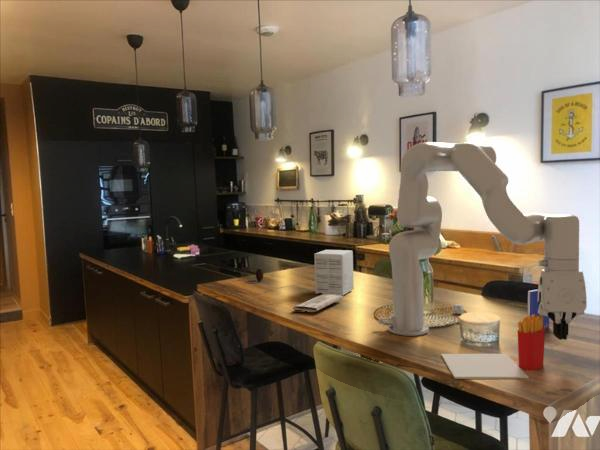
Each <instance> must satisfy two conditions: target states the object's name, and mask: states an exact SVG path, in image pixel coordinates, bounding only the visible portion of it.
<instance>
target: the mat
mask: <svg viewBox="0 0 600 450" xmlns="http://www.w3.org/2000/svg"><path fill="white" fill-rule="evenodd" d="M440 357H442V359H443V361H444V363H445V364H446V367H447V368H448V370H449V371H450V373H451V375H452V376H453V378H454V380H456V379H457V380H461V379H462V380H463V379H465V380H467V379H469V380H470V379H471V380H473V379H474V380H477V379H478V380H479V379H480V380H485V379H486V380H487V379H489V380H490V379H491V380H495V379H498V380H499V379H503V380H505V379H506V380H507V379H513V380H514V379H515V380H517V379H516V378H530V377H529V376H528V375H527V373H525V371H524V370H523V369H521V368H520V367H519V364H517V363H516V362H515V361H514V360H513V359H512V358H511V357H510V356H509V355H508V354H507V353H440Z"/></svg>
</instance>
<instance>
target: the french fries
mask: <svg viewBox="0 0 600 450" xmlns="http://www.w3.org/2000/svg"><path fill="white" fill-rule="evenodd" d="M517 326H518V327H517V328H518V329H517V347H518V348H517V352H518V366H519V367H520V368H521V370H523V371H528V372H529V371H530V372H531V370H532V371H533V370H534V371H537V370H539V369H540V367H541V368H543V367H544V357H545V341H546V340H545V337H546V329H545V327H543V317H542V315H540V316H538V315H537V316H535V314H533V315H531V316H528V315H527V316H525V317H524V318H523V319H522V320H519V321H518V322H517ZM542 366H543V367H542ZM538 368H539V369H538ZM536 369H537V370H536Z"/></svg>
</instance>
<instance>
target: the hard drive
mask: <svg viewBox="0 0 600 450" xmlns="http://www.w3.org/2000/svg"><path fill="white" fill-rule="evenodd" d="M538 308H539V306H538V289H532V290H528V291H527V317H528V316H531V315H533V314H535V316H537V315H538V316H540V314H539V313H538ZM542 317H543V327H545V330H546V329H550V318H549V317H548V316H543V315H542Z"/></svg>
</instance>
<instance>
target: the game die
mask: <svg viewBox="0 0 600 450" xmlns="http://www.w3.org/2000/svg"><path fill="white" fill-rule="evenodd" d="M452 312H453V313H454V315H455V314H456V315H460V314H462V313H463V312H464V306H462V304H460V303H455V304H454V305H453V307H452Z"/></svg>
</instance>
